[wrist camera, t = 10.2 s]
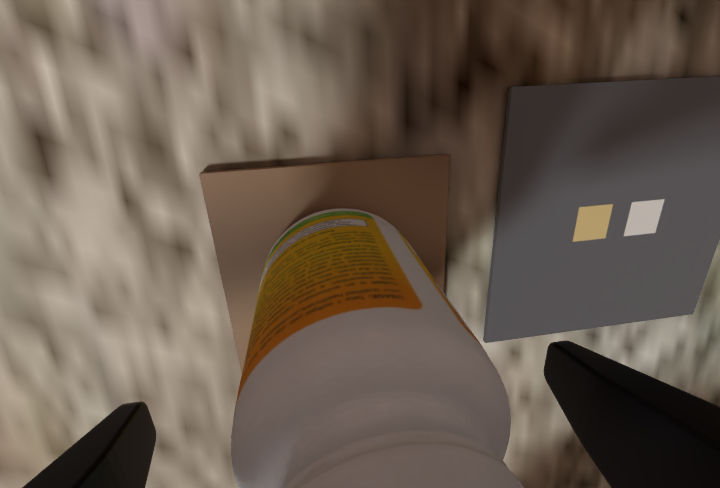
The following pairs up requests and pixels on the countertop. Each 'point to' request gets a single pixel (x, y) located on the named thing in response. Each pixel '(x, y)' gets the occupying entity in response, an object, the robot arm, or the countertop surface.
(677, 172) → the mat
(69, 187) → the countertop surface
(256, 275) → the walnut coaster
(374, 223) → the supplement bottle
